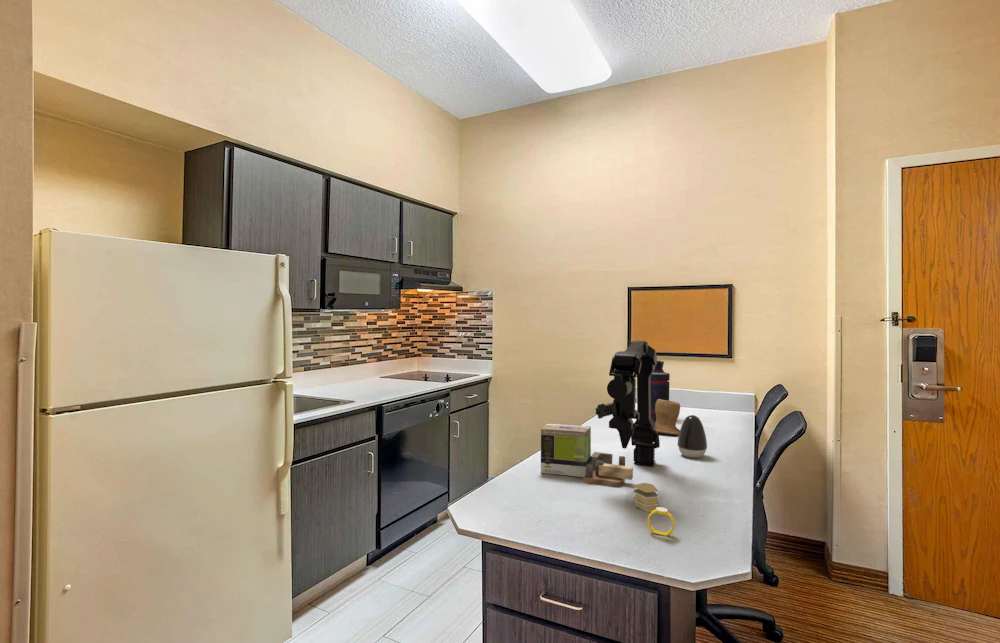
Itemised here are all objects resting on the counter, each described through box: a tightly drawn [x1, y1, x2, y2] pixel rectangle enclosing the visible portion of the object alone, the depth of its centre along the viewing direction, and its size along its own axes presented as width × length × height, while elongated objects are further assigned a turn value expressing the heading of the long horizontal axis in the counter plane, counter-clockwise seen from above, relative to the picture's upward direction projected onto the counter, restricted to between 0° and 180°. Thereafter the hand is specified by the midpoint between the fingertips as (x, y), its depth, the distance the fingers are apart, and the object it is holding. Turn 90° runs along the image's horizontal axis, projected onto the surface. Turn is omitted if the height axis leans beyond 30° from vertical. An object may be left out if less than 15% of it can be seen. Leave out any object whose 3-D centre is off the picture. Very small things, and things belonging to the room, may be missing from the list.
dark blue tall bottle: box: [650, 360, 670, 423], centre depth 247 cm, size 14×12×30 cm
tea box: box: [540, 423, 592, 478], centre depth 165 cm, size 15×10×15 cm
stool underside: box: [583, 455, 626, 488], centre depth 160 cm, size 11×17×5 cm, turn 158°
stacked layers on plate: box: [633, 482, 660, 513], centre depth 135 cm, size 10×9×6 cm
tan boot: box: [654, 399, 681, 435], centre depth 223 cm, size 15×12×15 cm
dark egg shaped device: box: [677, 414, 708, 459], centre depth 185 cm, size 10×10×15 cm
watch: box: [646, 506, 675, 537], centre depth 118 cm, size 6×3×6 cm, turn 67°
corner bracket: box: [590, 451, 614, 470], centre depth 165 cm, size 6×6×4 cm
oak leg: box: [596, 460, 634, 481], centre depth 155 cm, size 11×3×4 cm, turn 68°
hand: (624, 448), depth 148 cm, fingers closed
